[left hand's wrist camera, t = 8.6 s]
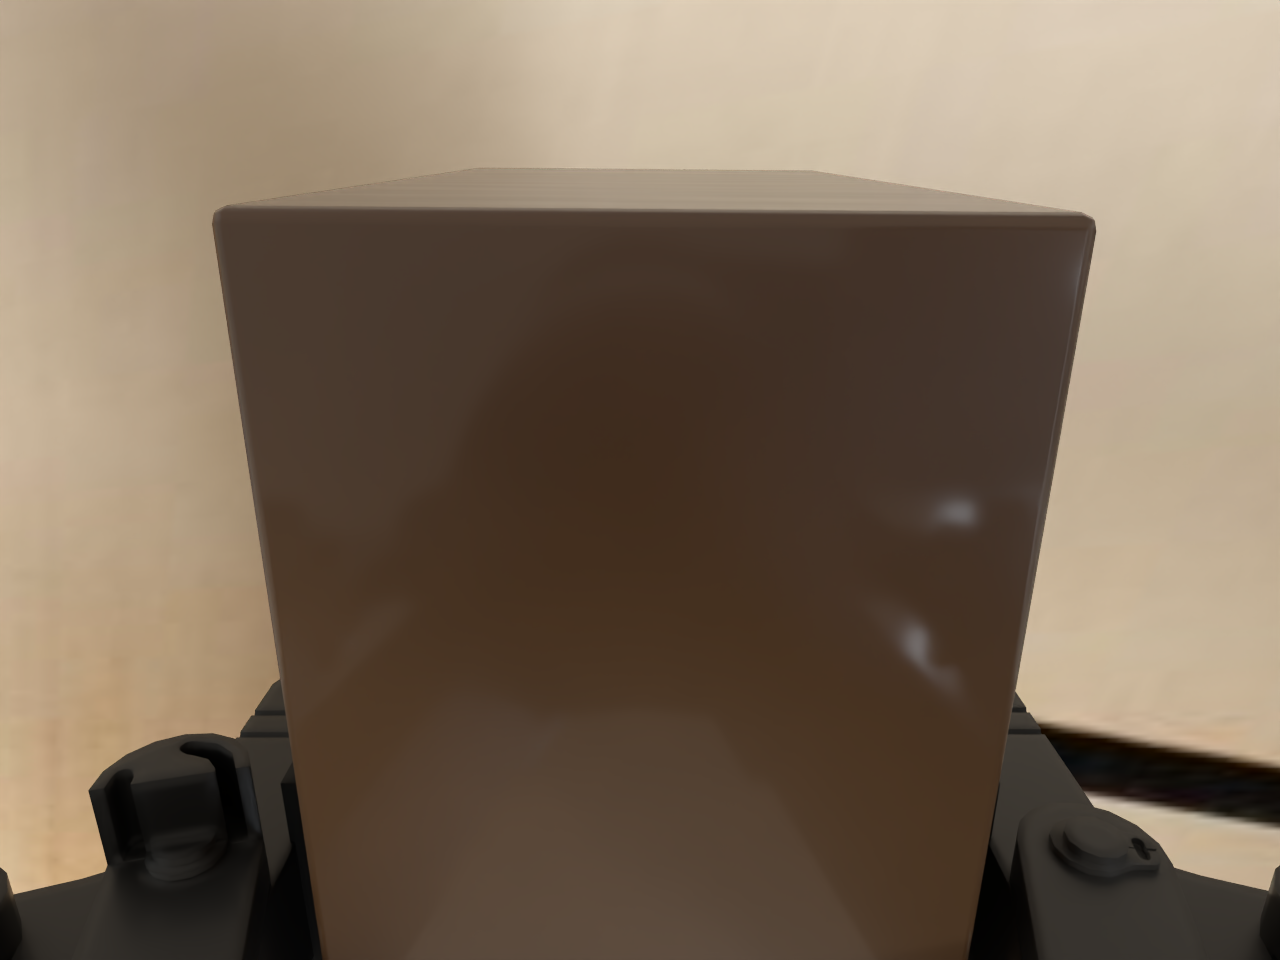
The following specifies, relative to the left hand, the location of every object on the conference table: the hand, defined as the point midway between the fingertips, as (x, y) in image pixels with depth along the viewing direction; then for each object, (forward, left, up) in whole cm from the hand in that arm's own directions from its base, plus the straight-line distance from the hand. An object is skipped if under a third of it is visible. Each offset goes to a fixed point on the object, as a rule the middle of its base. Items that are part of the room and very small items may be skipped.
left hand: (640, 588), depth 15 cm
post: (+21, +23, -1) cm, 31 cm away
